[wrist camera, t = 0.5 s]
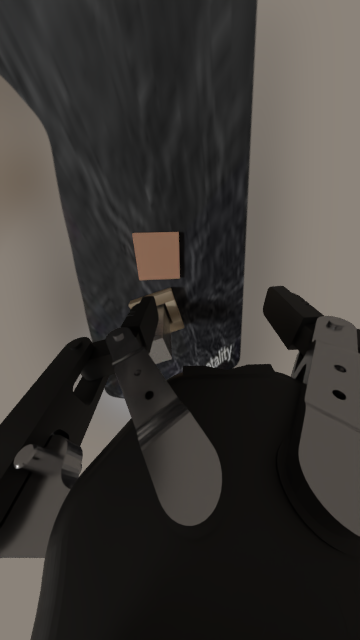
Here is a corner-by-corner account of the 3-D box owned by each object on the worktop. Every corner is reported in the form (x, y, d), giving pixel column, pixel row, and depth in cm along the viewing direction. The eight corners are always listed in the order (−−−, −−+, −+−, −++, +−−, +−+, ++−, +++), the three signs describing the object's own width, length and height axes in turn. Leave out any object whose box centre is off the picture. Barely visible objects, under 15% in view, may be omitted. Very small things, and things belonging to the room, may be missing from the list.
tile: (133, 233, 26) (132, 233, 25) (178, 232, 26) (178, 231, 26) (140, 279, 30) (139, 280, 29) (179, 277, 30) (179, 278, 30)
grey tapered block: (146, 307, 33) (135, 346, 20) (163, 301, 32) (162, 338, 20) (153, 322, 35) (146, 366, 22) (169, 316, 34) (172, 358, 22)
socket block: (131, 300, 32) (128, 305, 29) (170, 287, 31) (171, 290, 29) (147, 333, 36) (146, 339, 34) (183, 322, 35) (184, 327, 33)
